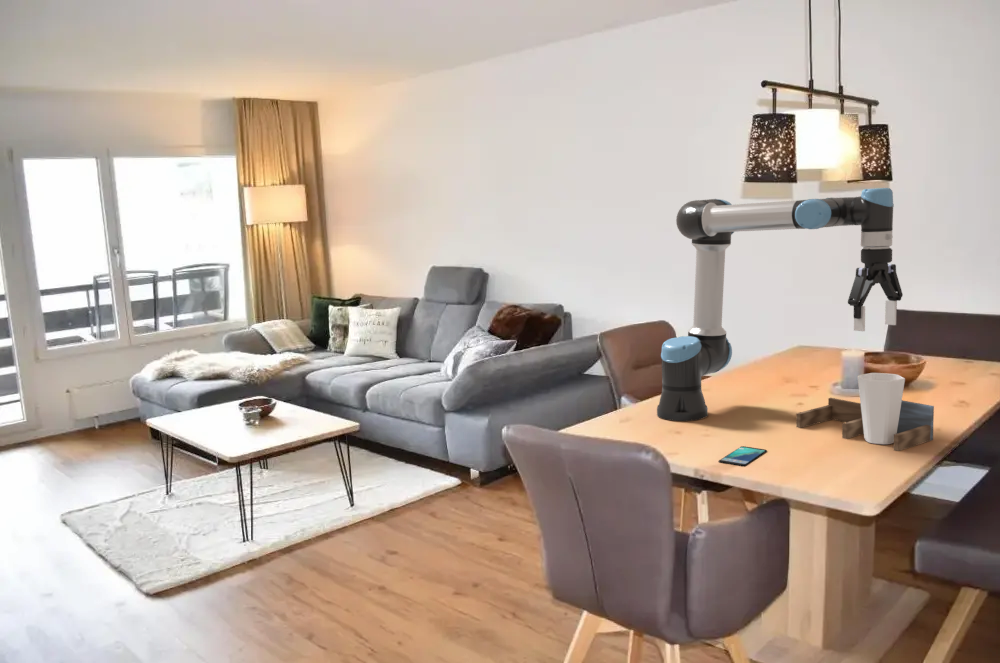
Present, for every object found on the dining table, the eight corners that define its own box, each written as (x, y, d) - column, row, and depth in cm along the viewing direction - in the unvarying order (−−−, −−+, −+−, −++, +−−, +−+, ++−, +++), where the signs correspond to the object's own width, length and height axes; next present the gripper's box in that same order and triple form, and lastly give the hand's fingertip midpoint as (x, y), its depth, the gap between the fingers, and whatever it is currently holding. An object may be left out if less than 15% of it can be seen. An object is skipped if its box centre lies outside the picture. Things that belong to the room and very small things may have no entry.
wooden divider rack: (898, 451, 206) (898, 416, 205) (796, 427, 232) (796, 396, 230) (932, 439, 214) (933, 406, 212) (830, 417, 240) (831, 387, 238)
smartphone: (717, 461, 204) (741, 445, 216) (717, 463, 205) (741, 448, 216) (744, 465, 200) (768, 449, 211) (744, 468, 200) (768, 452, 212)
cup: (852, 443, 214) (853, 378, 212) (861, 433, 222) (861, 371, 220) (900, 448, 208) (901, 382, 205) (906, 438, 216) (907, 374, 214)
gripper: (859, 251, 206) (858, 334, 209) (918, 244, 219) (916, 323, 222) (833, 250, 212) (833, 331, 215) (891, 244, 225) (890, 321, 228)
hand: (875, 327), depth 219 cm, fingers open, 13 cm apart
